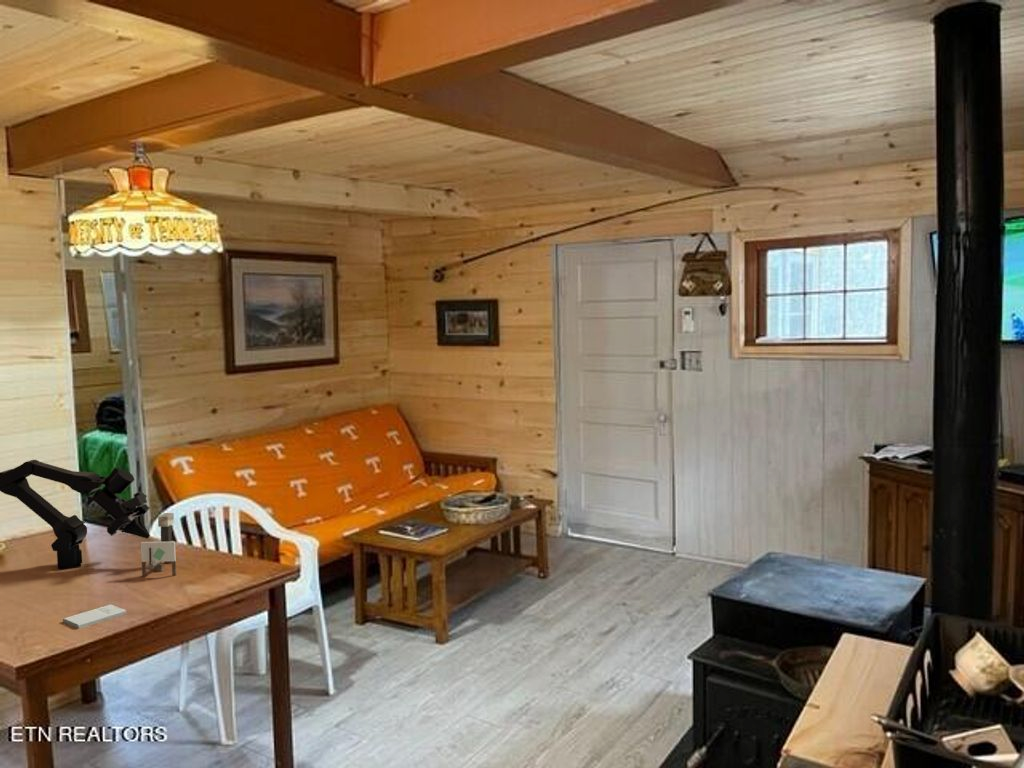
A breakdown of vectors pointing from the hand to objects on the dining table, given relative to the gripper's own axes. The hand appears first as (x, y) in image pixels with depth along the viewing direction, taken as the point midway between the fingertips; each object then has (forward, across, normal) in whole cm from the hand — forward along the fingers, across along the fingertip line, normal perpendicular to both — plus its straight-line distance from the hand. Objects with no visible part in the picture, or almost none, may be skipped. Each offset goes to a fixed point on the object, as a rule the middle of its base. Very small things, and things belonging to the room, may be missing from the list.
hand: (148, 537), depth 252 cm
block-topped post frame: (+9, -5, +1) cm, 10 cm away
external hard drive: (+10, -45, +4) cm, 46 cm away
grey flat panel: (+9, -11, -2) cm, 14 cm away
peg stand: (+12, -4, +1) cm, 13 cm away
